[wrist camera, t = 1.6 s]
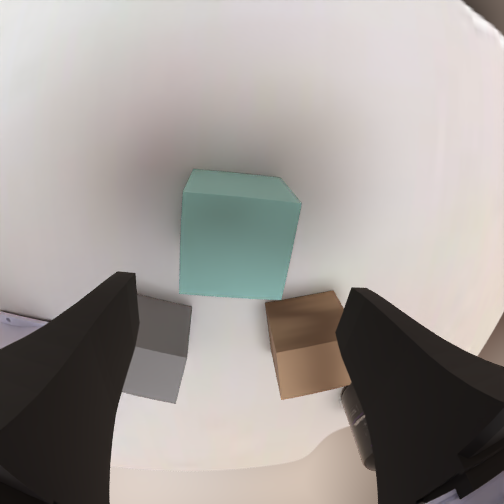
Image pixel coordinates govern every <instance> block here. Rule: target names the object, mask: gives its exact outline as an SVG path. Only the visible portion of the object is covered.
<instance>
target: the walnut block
mask: <svg viewBox="0 0 504 504" xmlns="http://www.w3.org/2000/svg"><path fill="white" fill-rule="evenodd" d="M265 306H266V314H267V322H268V330H269V337H270V345H271V352H272V357H273V362H274V367H275V372H276V377H277V381H278V386H279V391H280V396H281V400H284V399H289V398H294V397H299V396H304V395H309V394H314V393H318V392H322V391H327V390H331V389H335V388H339V387H343V386H347V385H350V384H351V379H350V377H349V374H348V372H347V369H346V367H345V364H344V362H343V359H342V357H341V353H340V350H339V346H338V342H337V338H336V333H335V332H336V329H337V326H338V324H339V321H340V319H341V316H342V313H343V310H344V308H343V307H342V305H341V303H340V301H339V299H338V298H337V296H336V294H335V292H334V290H333V291H328V292H323V293H317V294H312V295H307V296H301V297H296V298H290V299H284V300H278V301H272V302H267V303H265Z"/></svg>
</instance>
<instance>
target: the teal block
mask: <svg viewBox="0 0 504 504" xmlns="http://www.w3.org/2000/svg"><path fill="white" fill-rule="evenodd" d="M301 204H302V203H301V202H300V201H299V200H298V198H297V197H296V196H295V195H294V193H293V192H292V191H291V190H290V189H289V187H288V186H287V185H286V184H285V183H284V181H283V180H282V179H281V178H278V177H270V176H262V175H253V174H244V173H234V172H224V171H212V170H200V169H193V171H192V173H191V175H190V177H189V180H188V182H187V184H186V186H185V188H184V190H183V197H182V215H181V237H180V273H179V294H189V295H202V296H216V297H231V298H248V299H267V300H281V299H282V294H283V290H284V286H285V281H286V277H287V272H288V267H289V263H290V258H291V253H292V249H293V244H294V239H295V234H296V229H297V225H298V220H299V215H300V210H301Z"/></svg>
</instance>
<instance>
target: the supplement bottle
mask: <svg viewBox="0 0 504 504" xmlns="http://www.w3.org/2000/svg"><path fill="white" fill-rule="evenodd" d="M342 404H343V407H344V410H345V413H346V416H347V419H348V422H349V425H350V428H351V430H352V433H353V436H354V439H355V442H356V445H357V448H358V451H359V454H360V457H361V460H362V463H363V465H364V466H365V467H366V468H367V469H369V470H372V471H376V469H375V461H374V455H373V450H372V444H371V439H370V435H369V431H368V427H367V423H366V419H365V415H364V412H363V409H362V406H361V404H360V401H359V399H358V396H357V394H356V391H355V389H354V386H353V384H352V382H351V384H350V385H348V386H347V388H346V389H345V391H344V393H343V395H342Z"/></svg>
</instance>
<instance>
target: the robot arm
mask: <svg viewBox="0 0 504 504" xmlns="http://www.w3.org/2000/svg"><path fill="white" fill-rule="evenodd" d="M139 325H140V320H139V311H138V300H137V289H136V275H135V273H128V272H116V273H115V274H113V275H112V276H111V277H109V278H108V279H107V280H105V281H104V282H103V283H101V284H100V285H99V286H98V287H96V288H95V289H94V290H93V291H91V292H90V293H89V294H87V295H86V296H85V297H83V298H82V299H81V300H80V301H78V302H77V303H76V304H74V305H73V306H71V307H70V308H69V309H67V310H66V311H64V312H63V313H62V314H60V315H59V316H57V317H56V318H55V319H53V320H52V321H50V322H46V321H41V320H36V319H32V318H27V317H23V316H18V315H14V314H10V313H6V312H2V311H0V504H110V503H109V481H110V460H111V449H112V439H113V431H114V424H115V417H116V412H117V407H118V403H119V399H120V396H121V393H122V389H123V386H124V383H125V379H126V376H127V373H128V370H129V366H130V363H131V360H132V357H133V353H134V350H135V346H136V341H137V336H138V330H139ZM335 333H336V338H337V342H338V346H339V350H340V353H341V357H342V359H343V362H344V364H345V367H346V369H347V372H348V374H349V377H350V379H351V382H352V384H353V386H354V389H355V391H356V394H357V396H358V399H359V401H360V404H361V406H362V409H363V412H364V415H365V419H366V423H367V427H368V431H369V435H370V439H371V444H372V450H373V455H374V461H375V469H376V477H377V488H378V504H504V367H503V366H500V365H497V364H494V363H492V362H489V361H486V360H484V359H482V358H479V357H477V356H475V355H473V354H470V353H468V352H466V351H464V350H462V349H460V348H459V347H457V346H455V345H453V344H451V343H450V342H448V341H446V340H444V339H443V338H441V337H439V336H438V335H436V334H435V333H433V332H431V331H430V330H428V329H427V328H425V327H424V326H422V325H421V324H419V323H418V322H416V321H415V320H414V319H412V318H411V317H409V316H408V315H406V314H405V313H404V312H402V311H401V310H399V309H398V308H397V307H395V306H394V305H392V304H391V303H390V302H388V301H387V300H385V299H384V298H382V297H381V296H379V295H378V294H376V293H375V292H373V291H371V290H369V289H367V288H351V291H350V294H349V296H348V299H347V302H346V305H345V308H344V310H343V313H342V316H341V319H340V321H339V324H338V326H337V329H336V332H335Z"/></svg>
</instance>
